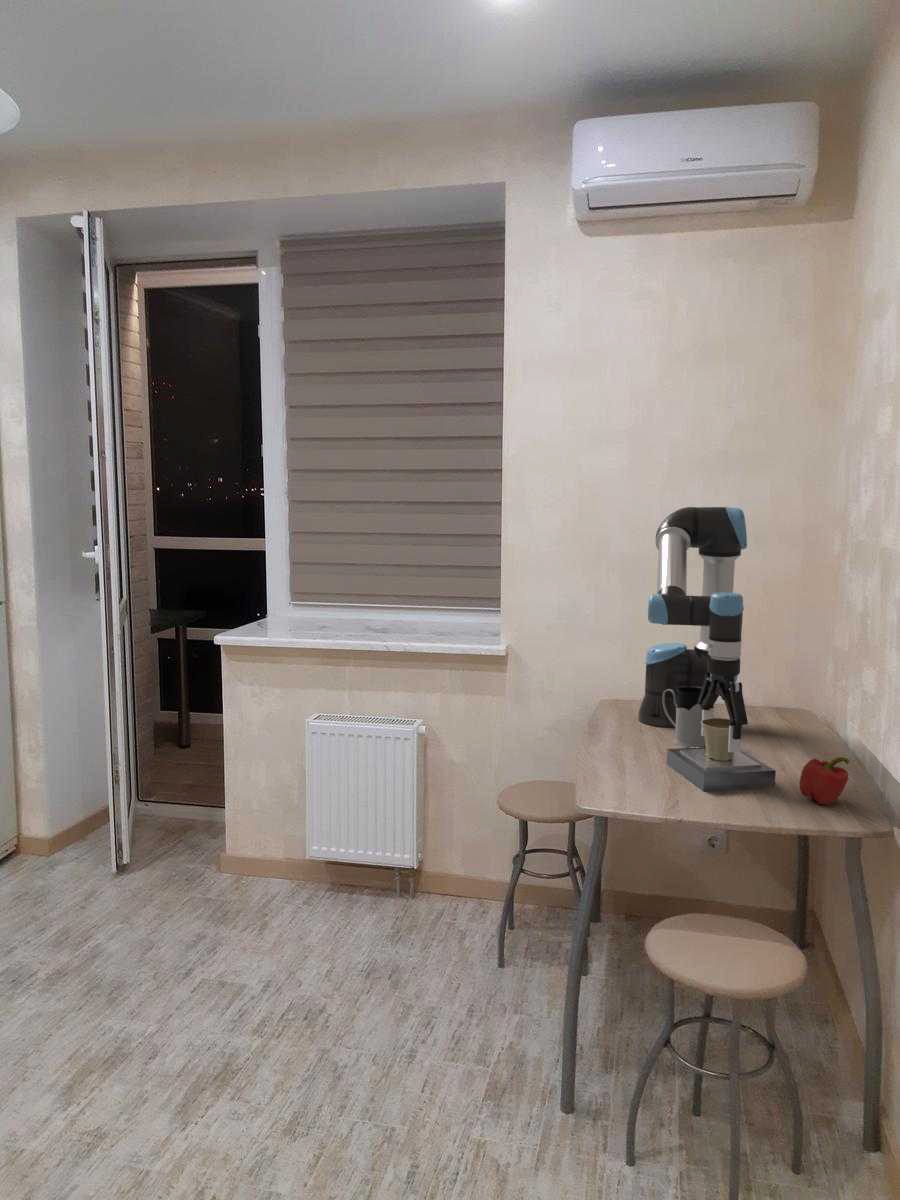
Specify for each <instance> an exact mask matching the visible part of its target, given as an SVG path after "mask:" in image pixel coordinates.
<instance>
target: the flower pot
mask: <svg viewBox="0 0 900 1200" xmlns="http://www.w3.org/2000/svg"><path fill="white" fill-rule="evenodd" d="M730 723H731V720H730V718H724V717H723V718H721V717H714V718H708V719H703V720H701V724H702V726H703V730H704V735H705V744H706V746H705V747H706V754H707V757H708V758H713V759H714V760H718V761H728V760H729V759H733V756H734V752H728V740H729V724H730Z"/></svg>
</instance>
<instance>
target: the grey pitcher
mask: <svg viewBox="0 0 900 1200" xmlns="http://www.w3.org/2000/svg"><path fill="white" fill-rule="evenodd" d="M667 690H669V691H671V692H672V693H673V696H674V704H675V706H677V707H676V724H675V723H674V722H673V720H672V719H671V717H670V716H669V714H668V712H667V709H666V706H665V693H666V691H667ZM667 690H665V691H664V692H663V696H662V702H663V707H664V711H665V713H666V715H667V717H668V718H669V720H670V721H671V723H672V724H673V725H674V727H673V728H675V729H674V730H675V735H674V738H673V741H674V743H675V744H674V743H673V744H674V745H676V744H677V745H676V746H678V745H681V746H684V747H683V748H687V747H694V748H695V747H704V746H705V747H706V744H705V736H702V735H701V730H702V724H701V720H702V710H703V709H701V705H698V699H699V696H700V692H701V688H696V687H681V688H678V696H677V703H676V694H675V692H674V691H673V690H671V689H667ZM703 700H704V699H703ZM681 746H680V747H681Z"/></svg>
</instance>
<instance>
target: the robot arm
mask: <svg viewBox="0 0 900 1200" xmlns="http://www.w3.org/2000/svg"><path fill="white" fill-rule="evenodd" d="M655 547H656V549H657V550H658V554H657V555H658V558H657V559H658V561H657V580H656V593H655V594H650V595H649V596H648V606H647V607H648V608H647V620H648V622H649V623H651V624H658V625H663V626H668V625H672V626H674V625H675V626H693V627H697V626H699V627H700V630H699V631H700V632H699V633H700V634H699V639H698V640H697V641H696V642H694V644H693V649H692V648H690V649H688V646H687V645H686V643H677V642H672V643H671V642H670V643H662V644H661V643H660V644H656V645H652V646H650V647H649V648H647V651H646V657H645V661H644V662H645V663H644V664H645V681H644V696H643V698H642V701H641V703H640V707H639V709H638V714H637V720H638V721H639V722H641V723H643V724H646V725H650V726H654V727H655V726H656V727H664V728H665V727H667V728H670V727H671V728H675V727H674V725H673V724H672V723H671V721H670V720H669V718H668V717H667V715H666V713H665V711H664V707H663V702H662V696H663V692H664V691H665V690H667V689H671V690H673V691H674V692H675V694H676V703H677V696H678V688H681V687H696V688H701V692H700V696H699V699H698V705H701V709H703V710H702V720H703V719H708V718H715V717H714V715H715V713H714V712H715V710H714V709H715V706H714V705H715V704H716V701H717V700H718V698H719V697H720V698H721V700H722V701H723V702H724V704H725V707H726V710H727V713H728V716H729V719H730V720H731V723H730V724H729V740H728V752H740V750H741V741H742V727H743V726H744V725H746V726H747V725H748V723H749V721H748V716H747V710H746V705H745V700H744V695H743V683H742V682H737V681H738V676H739V675H740V672H741V657H742V630H743V629H742V628H743V618H744V617H743V614H744V613H743V612H744V611H745V610H744V608H745V607H744V597H743V596H742V594H740V593H736V592H734V585H735V584H734V581H735V568H736V567H735V565H736V560H737V559H738V558H740V557H741V556H742V550H745V549H747V547H748V535H747V523H746V517H745V514H744V511H743V509H741V508H738V507H729V506H707V507H706V506H699V507H698V506H697V507H696V506H687V507H683V508H679V509H677V510H675V511H674V512H672V513H670V514H669V515H667V516H666V517H665V519H664V520H662V522H661V523H660V524H659V526H658V528H657V531H656V534H655ZM690 548H692V549H693V548H694V549H695V548H696V549H698V555H699V556H700V557H701V558H702V560H703V572H702V589H701V591H702V593H701V595H687V577H688V576H687V575H688V573H687V572H688V571H687V567H688V566H687V565H688V564H687V562H688V556H687V554H688V552H687V551H688V550H689V549H690ZM703 699H704V700H703ZM665 706H666V709H667V712H668V714H669V716H670V717H671V719H672V720H673V722H674V723H675V724H676V707H677V706H675V704H674V696H673V693H672V692H671V691H669V690H667V691H666V693H665ZM701 735H702V736H705V735H704V730H703V726H702V730H701Z"/></svg>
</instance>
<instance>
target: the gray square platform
mask: <svg viewBox="0 0 900 1200" xmlns="http://www.w3.org/2000/svg"><path fill="white" fill-rule="evenodd" d="M667 764H668V765H669V766H668V765H667ZM666 765H667V766H668V767H670V768H671V767H672V768H673V769H672V768H671V769H672V770H673V771H675V770H676V771H677V772H676V771H675V772H676V773H678V772H679V773H680V774H679V773H678V774H679V775H680V776H682V775H683V776H684V777H683V776H682V777H683V778H685V777H686V778H687V779H688V780H687V779H686V778H685V779H686V780H687V781H689V782H690V781H691V782H692V784H693V785H694V786H696V787H697V788H698V787H699V789H700V790H701V791H702V792H708V791H709V792H712V791H713V792H714V791H727V790H728V791H729V790H742V789H743V790H744V789H745V790H746V789H762V788H764V787H766V788H775V787H776V773H777V770H775V769H774V768H772V767H771V766H769V765H768V764H765V763H763V762H762V761H761V760H758V759H757V758H755V757H753V756H752V755H750V754H748V753H747V752H745V751H744V750H741V749H740V752H734V756H733V759H729V760H728V761H718V760H714V759H713V758H708V757H707V754H706V746H705V747H699V748H687V747H681V748H680V747H679V748H667V749H666ZM691 782H690V783H691Z"/></svg>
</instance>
